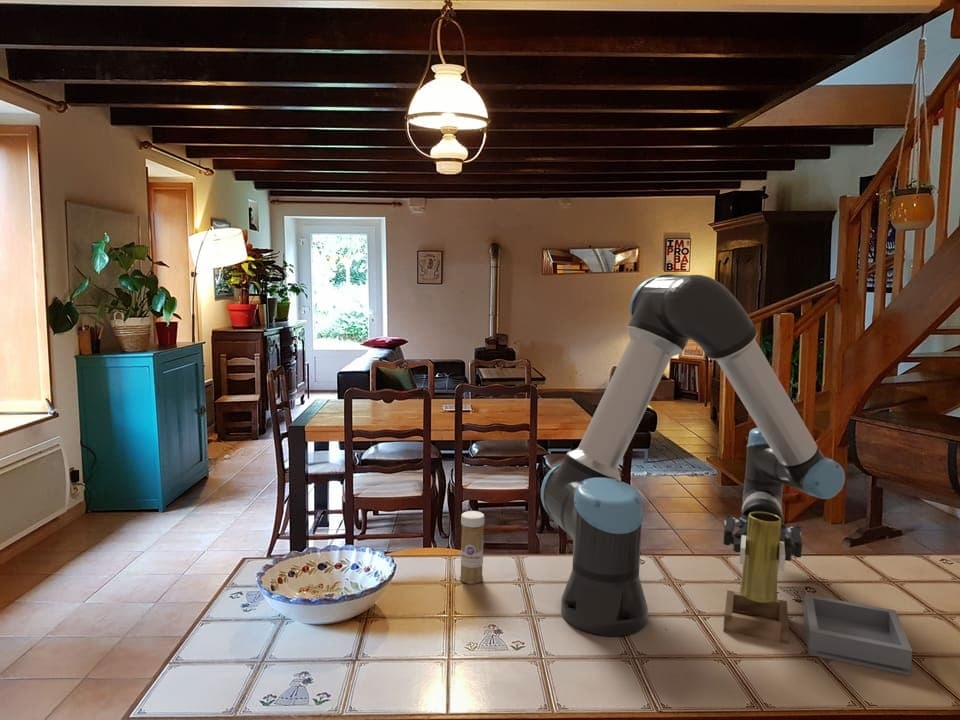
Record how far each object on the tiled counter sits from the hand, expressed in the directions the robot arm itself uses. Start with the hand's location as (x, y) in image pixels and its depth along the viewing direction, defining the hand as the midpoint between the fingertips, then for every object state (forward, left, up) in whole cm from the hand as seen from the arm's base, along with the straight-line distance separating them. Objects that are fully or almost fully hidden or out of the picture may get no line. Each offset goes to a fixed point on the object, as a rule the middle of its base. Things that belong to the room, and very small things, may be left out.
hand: (762, 559), depth 111 cm
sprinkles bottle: (-52, 0, -14) cm, 54 cm away
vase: (0, +5, -9) cm, 10 cm away
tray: (+15, +5, -14) cm, 21 cm away
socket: (0, +5, -14) cm, 15 cm away
